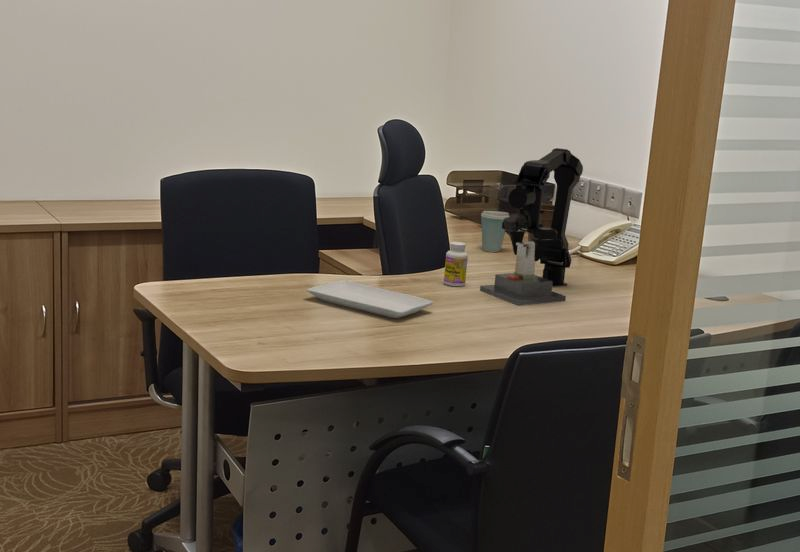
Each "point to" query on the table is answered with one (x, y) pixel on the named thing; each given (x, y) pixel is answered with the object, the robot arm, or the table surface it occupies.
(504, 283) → the red button base
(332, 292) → the tray
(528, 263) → the column
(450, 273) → the supplement bottle
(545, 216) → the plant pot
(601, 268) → the table surface
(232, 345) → the table surface
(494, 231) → the disposable coffee cup
